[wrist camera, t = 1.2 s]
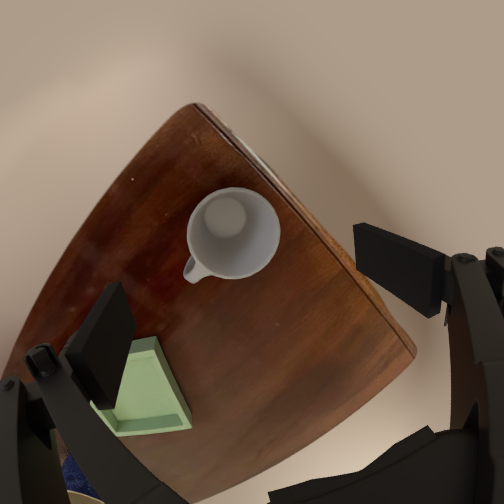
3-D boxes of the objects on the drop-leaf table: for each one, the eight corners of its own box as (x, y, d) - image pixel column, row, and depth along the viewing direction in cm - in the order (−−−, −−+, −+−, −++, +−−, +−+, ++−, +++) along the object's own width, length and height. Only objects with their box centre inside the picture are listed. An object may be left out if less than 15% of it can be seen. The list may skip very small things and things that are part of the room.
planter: (134, 470, 41) (132, 514, 31) (101, 482, 42) (97, 520, 31) (83, 440, 37) (72, 486, 27) (55, 454, 38) (44, 493, 27)
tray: (71, 350, 32) (64, 363, 30) (156, 335, 34) (153, 349, 31) (116, 423, 37) (113, 436, 34) (191, 413, 39) (192, 428, 36)
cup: (273, 213, 32) (299, 229, 24) (214, 280, 33) (221, 316, 25) (221, 166, 30) (230, 167, 22) (160, 238, 31) (149, 264, 23)
